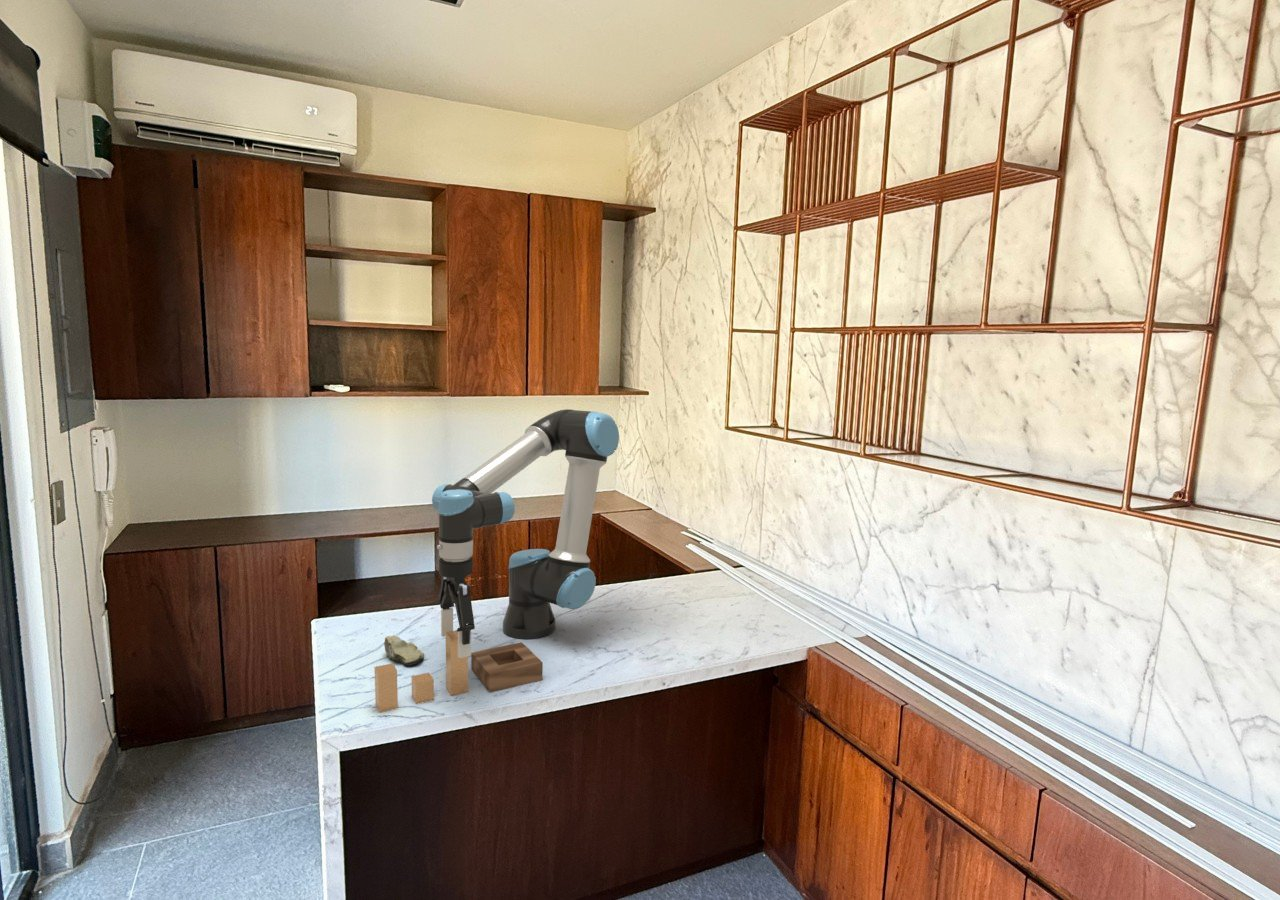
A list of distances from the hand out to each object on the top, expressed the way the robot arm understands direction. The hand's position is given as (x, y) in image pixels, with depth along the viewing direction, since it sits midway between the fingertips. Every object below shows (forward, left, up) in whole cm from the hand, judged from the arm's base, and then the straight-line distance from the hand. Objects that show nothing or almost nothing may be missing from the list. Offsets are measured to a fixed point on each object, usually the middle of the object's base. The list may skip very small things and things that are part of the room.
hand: (455, 645), depth 162 cm
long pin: (0, 0, -11) cm, 11 cm away
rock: (-23, -7, -12) cm, 26 cm away
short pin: (0, -8, -11) cm, 14 cm away
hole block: (-2, +13, -11) cm, 17 cm away
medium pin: (0, -16, -11) cm, 19 cm away
